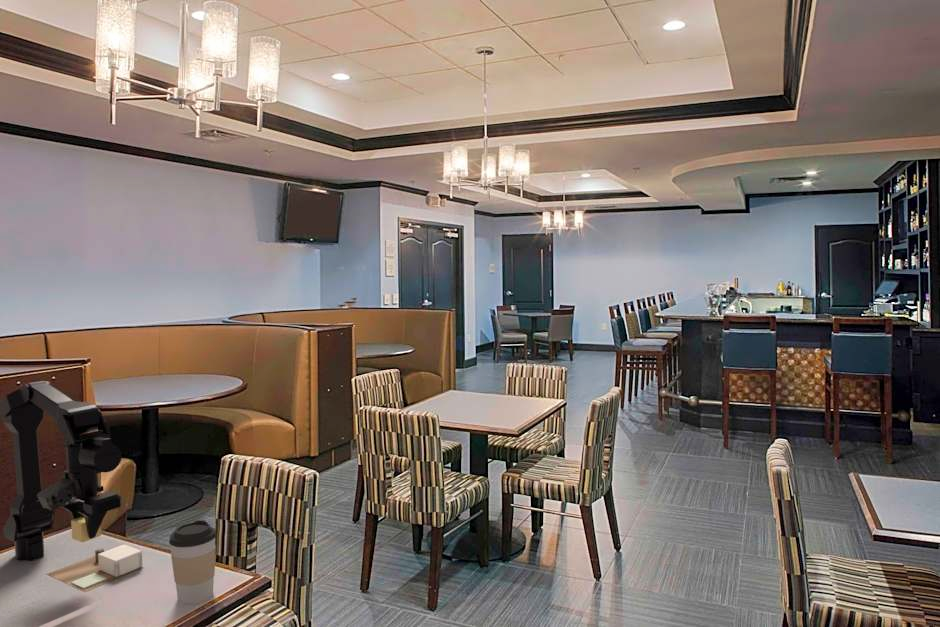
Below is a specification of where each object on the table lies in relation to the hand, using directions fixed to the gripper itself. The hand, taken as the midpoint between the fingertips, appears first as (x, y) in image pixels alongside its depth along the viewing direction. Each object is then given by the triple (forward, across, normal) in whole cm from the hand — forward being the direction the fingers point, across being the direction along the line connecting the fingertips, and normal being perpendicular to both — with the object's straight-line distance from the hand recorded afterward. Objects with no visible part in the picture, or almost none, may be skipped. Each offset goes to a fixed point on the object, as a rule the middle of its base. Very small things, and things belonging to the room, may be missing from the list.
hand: (86, 535), depth 143 cm
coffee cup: (+11, +24, +9) cm, 28 cm away
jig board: (+11, -4, +4) cm, 12 cm away
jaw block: (0, 0, 0) cm, 0 cm away
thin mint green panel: (+11, 0, 0) cm, 11 cm away
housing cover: (+10, 0, +7) cm, 12 cm away
